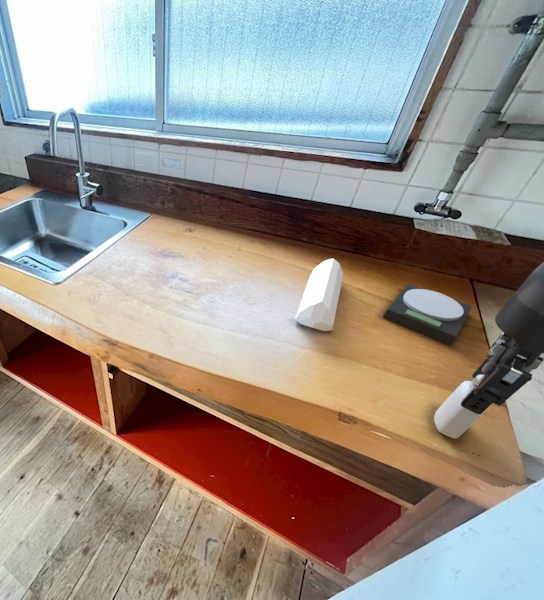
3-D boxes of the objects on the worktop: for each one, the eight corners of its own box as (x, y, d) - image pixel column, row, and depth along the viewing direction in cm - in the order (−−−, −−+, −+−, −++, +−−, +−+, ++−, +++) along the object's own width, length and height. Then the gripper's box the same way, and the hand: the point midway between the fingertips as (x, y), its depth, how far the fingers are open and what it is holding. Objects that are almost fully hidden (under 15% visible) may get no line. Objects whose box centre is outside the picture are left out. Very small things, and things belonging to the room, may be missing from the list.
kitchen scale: (466, 314, 71) (474, 303, 69) (449, 345, 64) (458, 333, 62) (403, 291, 79) (409, 280, 77) (382, 317, 71) (389, 306, 69)
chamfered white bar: (346, 328, 63) (355, 270, 79) (317, 304, 64) (332, 252, 80) (316, 344, 69) (330, 287, 85) (290, 322, 69) (309, 270, 85)
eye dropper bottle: (473, 428, 50) (526, 379, 43) (450, 442, 48) (501, 394, 41) (443, 406, 53) (487, 357, 46) (420, 419, 52) (463, 369, 44)
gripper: (615, 353, 30) (501, 444, 40) (615, 291, 37) (518, 381, 48) (507, 316, 35) (429, 406, 45) (526, 267, 42) (455, 354, 52)
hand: (475, 393), depth 46 cm, fingers open, 6 cm apart
